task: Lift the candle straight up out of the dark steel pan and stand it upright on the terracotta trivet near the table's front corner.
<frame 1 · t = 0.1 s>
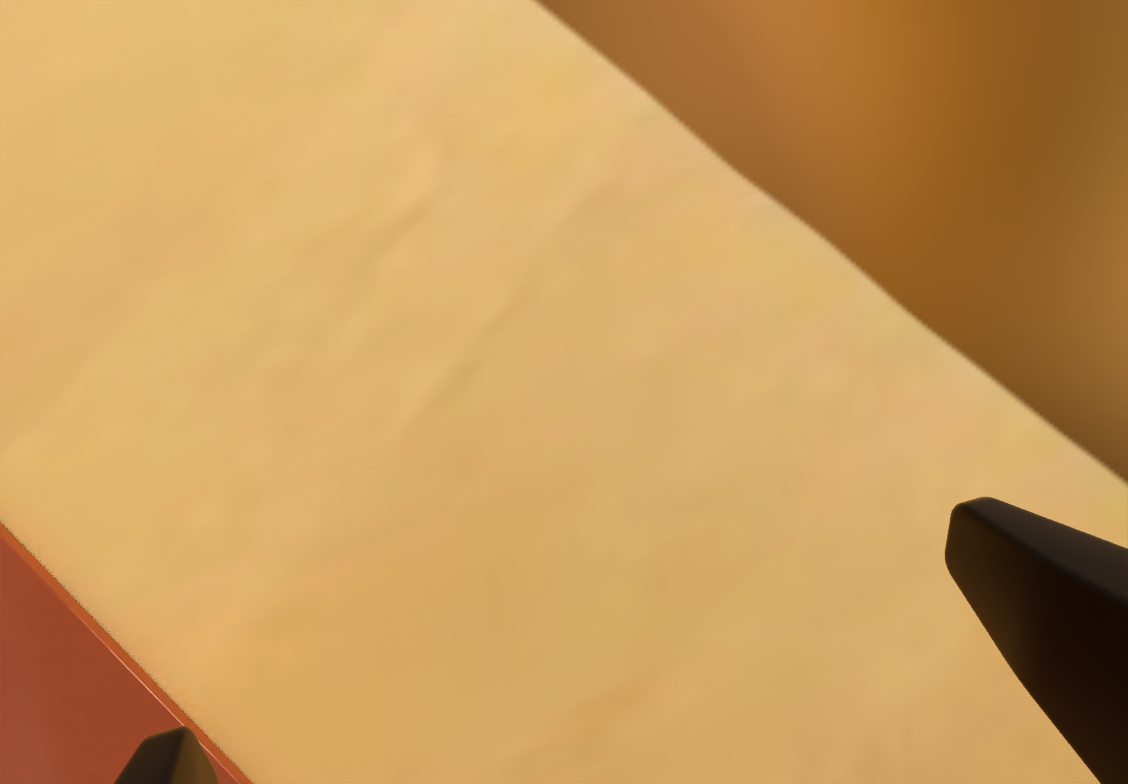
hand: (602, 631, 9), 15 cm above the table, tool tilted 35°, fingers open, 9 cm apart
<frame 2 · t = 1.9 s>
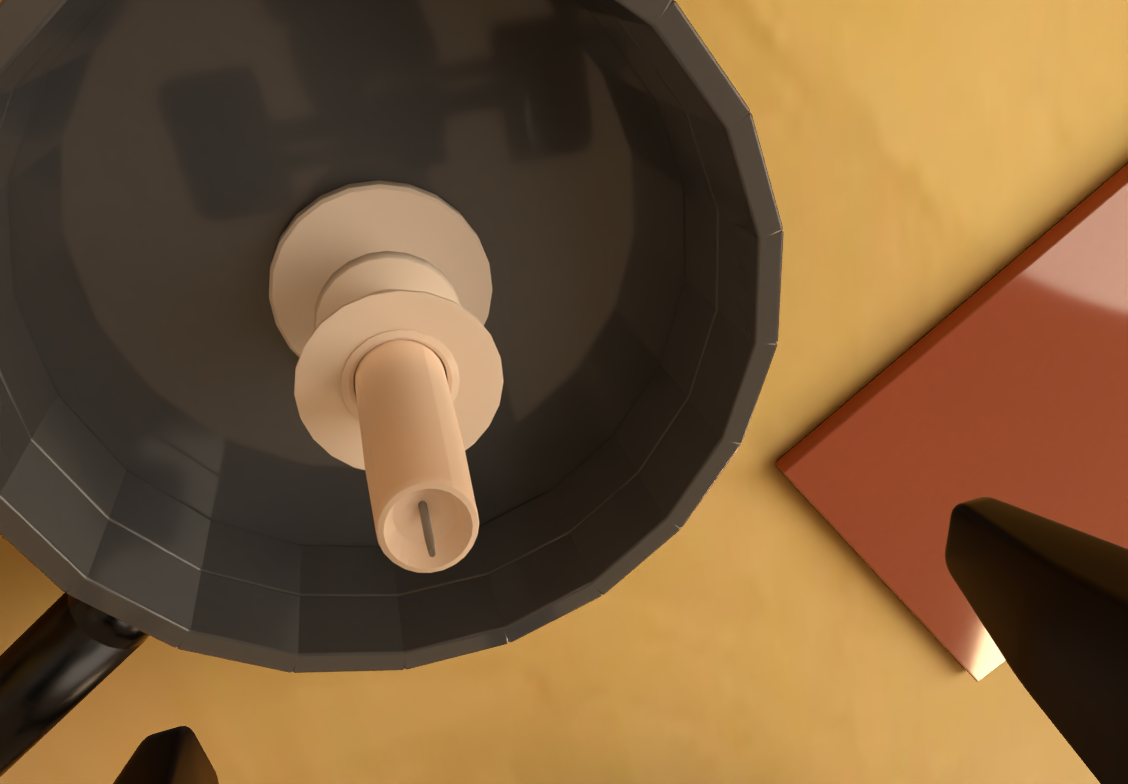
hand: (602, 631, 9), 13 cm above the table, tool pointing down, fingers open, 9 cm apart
candle: (382, 283, 20), resting on pan
pan: (382, 282, 20), on the table
trivet: (1109, 400, 29), on the table
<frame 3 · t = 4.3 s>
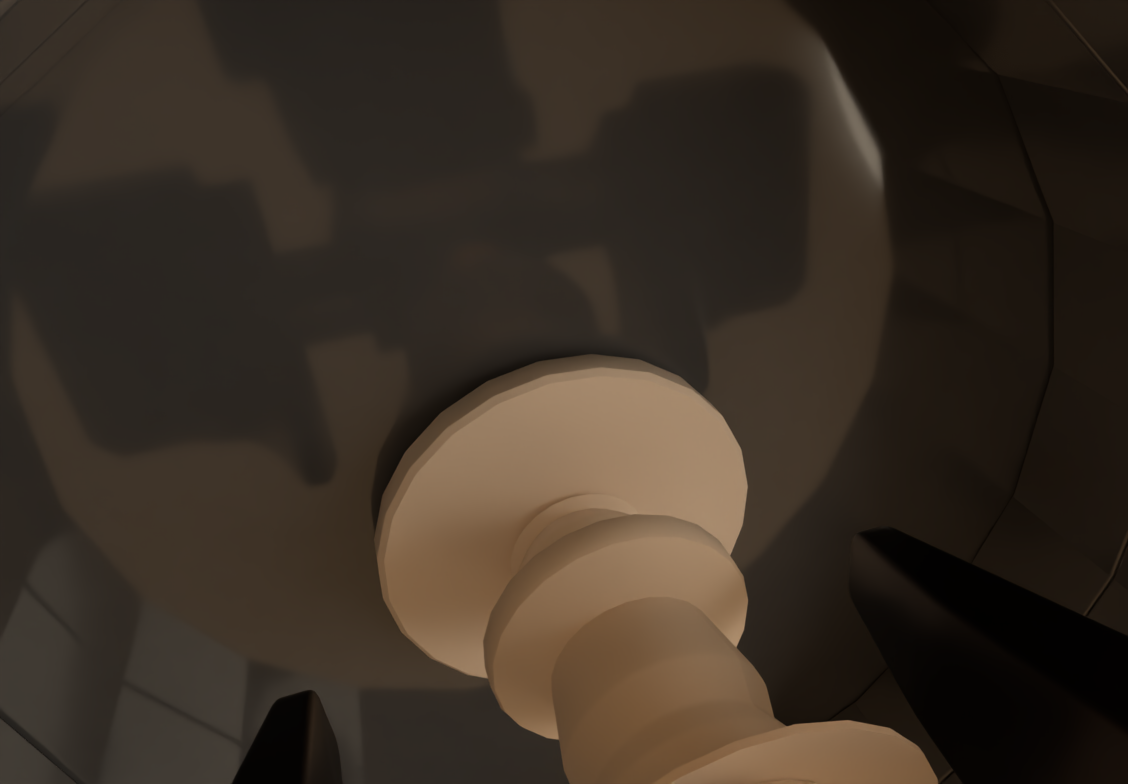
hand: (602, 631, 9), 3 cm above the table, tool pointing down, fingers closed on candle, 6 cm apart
candle: (559, 511, 12), resting on pan, touching gripper
pan: (555, 501, 12), on the table
when the fingers open (4 cm above the table, at t = 9.6 s): candle stays where it is, resting on trivet.
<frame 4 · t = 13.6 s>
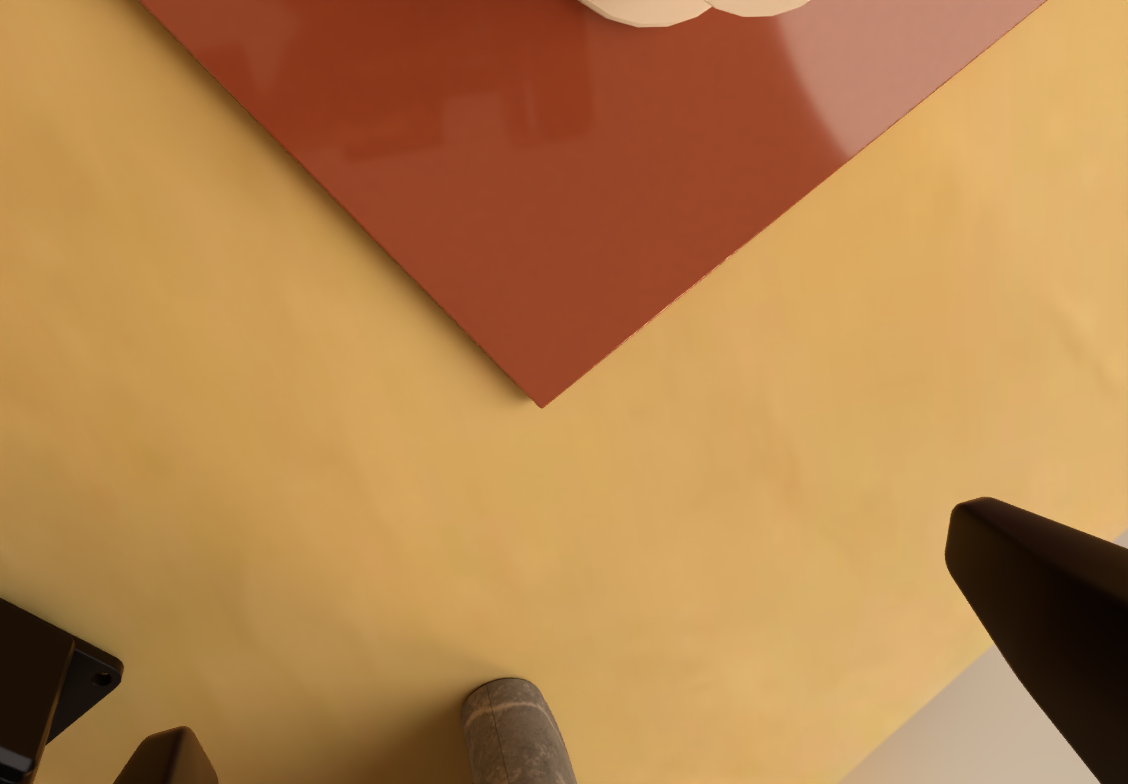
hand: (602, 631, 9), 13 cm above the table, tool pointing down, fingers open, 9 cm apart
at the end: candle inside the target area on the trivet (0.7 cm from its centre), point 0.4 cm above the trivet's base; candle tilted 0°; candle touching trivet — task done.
